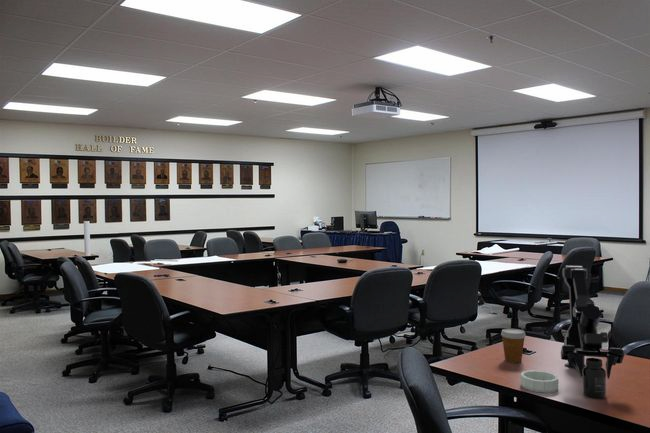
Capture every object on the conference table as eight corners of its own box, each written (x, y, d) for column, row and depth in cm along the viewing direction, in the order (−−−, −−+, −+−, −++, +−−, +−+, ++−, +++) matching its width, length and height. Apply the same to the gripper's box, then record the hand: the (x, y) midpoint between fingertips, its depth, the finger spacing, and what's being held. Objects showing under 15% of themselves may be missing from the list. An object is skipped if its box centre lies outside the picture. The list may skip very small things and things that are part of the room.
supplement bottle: (606, 394, 176) (606, 358, 176) (605, 400, 171) (605, 363, 170) (584, 390, 180) (584, 355, 180) (581, 396, 174) (581, 360, 174)
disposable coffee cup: (495, 358, 219) (495, 329, 219) (514, 356, 222) (514, 327, 222) (511, 364, 210) (511, 334, 210) (530, 362, 214) (530, 332, 213)
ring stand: (533, 378, 193) (533, 368, 193) (565, 387, 183) (565, 376, 183) (513, 385, 186) (513, 374, 186) (546, 395, 176) (546, 383, 176)
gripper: (561, 321, 181) (567, 362, 171) (623, 324, 176) (632, 367, 166) (558, 338, 189) (563, 379, 179) (617, 342, 184) (625, 384, 173)
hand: (595, 377), depth 174 cm, fingers open, 8 cm apart
